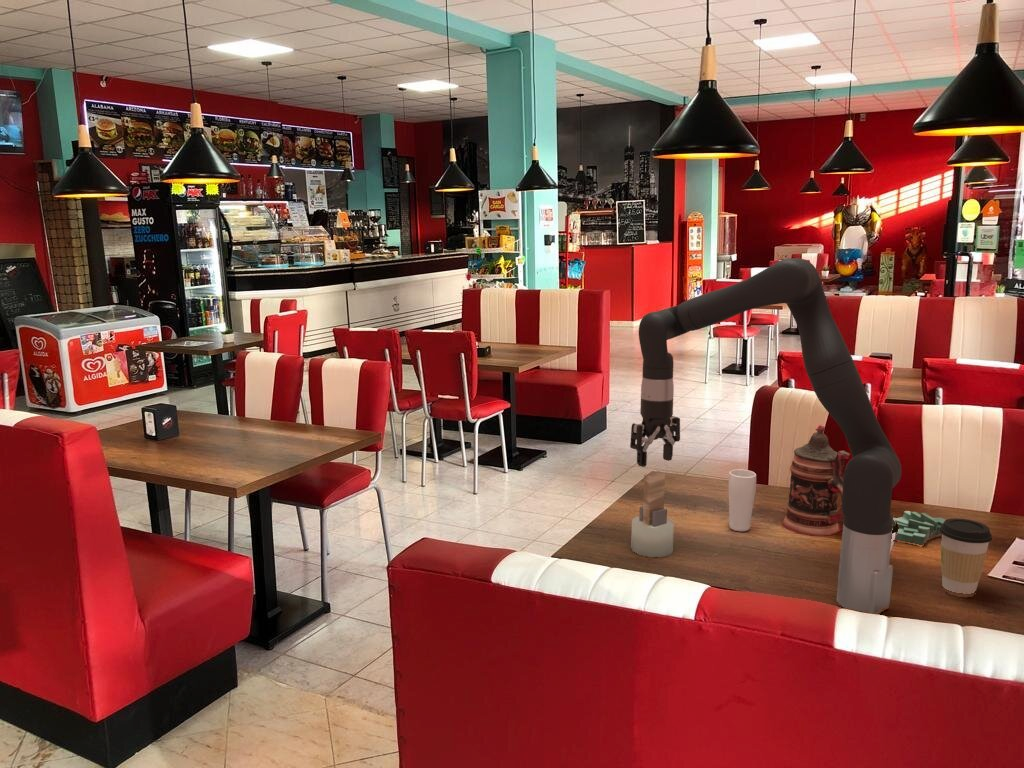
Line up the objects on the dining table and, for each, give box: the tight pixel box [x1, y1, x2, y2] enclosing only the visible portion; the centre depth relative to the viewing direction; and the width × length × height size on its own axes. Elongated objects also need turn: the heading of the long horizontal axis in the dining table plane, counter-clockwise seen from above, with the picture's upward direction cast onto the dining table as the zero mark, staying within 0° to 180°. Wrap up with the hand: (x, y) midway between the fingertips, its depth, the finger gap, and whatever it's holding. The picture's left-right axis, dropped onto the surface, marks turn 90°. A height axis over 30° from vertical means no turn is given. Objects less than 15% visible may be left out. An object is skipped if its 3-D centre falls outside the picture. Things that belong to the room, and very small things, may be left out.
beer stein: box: [781, 424, 851, 537], centre depth 208 cm, size 17×28×18 cm
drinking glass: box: [727, 468, 757, 533], centre depth 208 cm, size 7×7×15 cm
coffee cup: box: [939, 517, 993, 594], centre depth 173 cm, size 10×10×15 cm
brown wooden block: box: [642, 471, 666, 525], centre depth 194 cm, size 2×5×12 cm, turn 127°
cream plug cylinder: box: [630, 505, 675, 558], centre depth 195 cm, size 10×10×10 cm
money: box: [893, 510, 946, 545], centre depth 208 cm, size 20×16×5 cm
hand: (654, 462), depth 192 cm, fingers open, 8 cm apart
